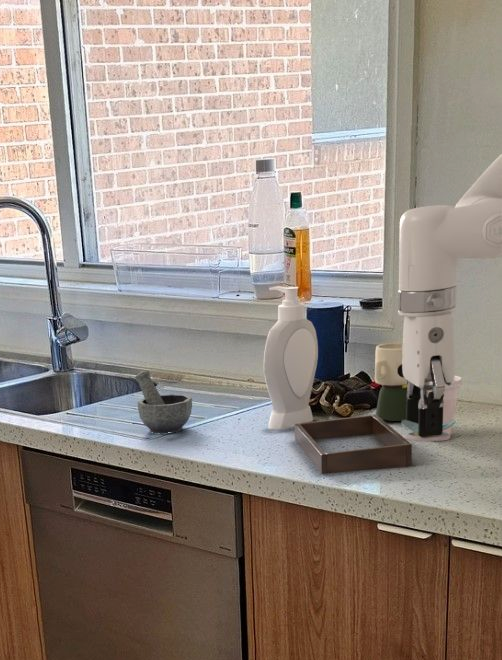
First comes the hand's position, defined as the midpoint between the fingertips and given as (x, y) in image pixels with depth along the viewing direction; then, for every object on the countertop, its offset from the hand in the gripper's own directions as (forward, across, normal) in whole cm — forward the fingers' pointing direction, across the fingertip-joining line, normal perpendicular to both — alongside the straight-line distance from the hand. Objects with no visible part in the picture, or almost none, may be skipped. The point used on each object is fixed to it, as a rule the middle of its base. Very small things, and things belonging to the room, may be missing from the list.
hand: (423, 429), depth 175 cm
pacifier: (+1, -1, 0) cm, 2 cm away
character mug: (+8, +41, -6) cm, 42 cm away
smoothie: (+8, +25, -9) cm, 28 cm away
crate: (+8, +21, +6) cm, 23 cm away
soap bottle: (+8, +46, +12) cm, 48 cm away
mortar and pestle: (+8, +49, +34) cm, 60 cm away
